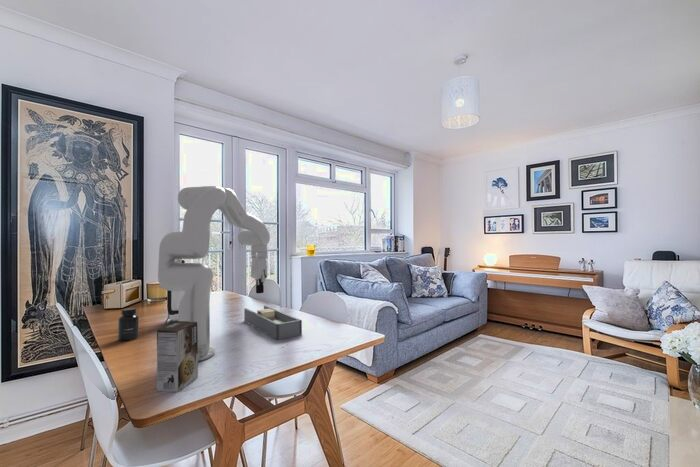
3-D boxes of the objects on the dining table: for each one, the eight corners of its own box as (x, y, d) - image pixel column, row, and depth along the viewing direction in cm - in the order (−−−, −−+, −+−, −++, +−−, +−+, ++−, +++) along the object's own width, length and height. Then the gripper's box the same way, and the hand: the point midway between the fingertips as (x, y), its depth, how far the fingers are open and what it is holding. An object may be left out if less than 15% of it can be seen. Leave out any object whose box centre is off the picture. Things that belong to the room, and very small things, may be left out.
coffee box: (177, 376, 93) (177, 320, 93) (198, 377, 92) (198, 321, 93) (155, 391, 84) (155, 329, 84) (178, 392, 83) (178, 330, 83)
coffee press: (159, 321, 157) (159, 260, 158) (194, 315, 168) (193, 258, 168) (167, 328, 144) (167, 261, 145) (204, 322, 155) (204, 259, 155)
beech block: (274, 319, 148) (274, 310, 148) (262, 321, 145) (262, 312, 145) (269, 317, 153) (269, 308, 153) (257, 319, 149) (257, 310, 149)
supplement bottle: (126, 342, 125) (126, 311, 125) (113, 340, 127) (113, 310, 127) (142, 337, 131) (142, 307, 131) (130, 335, 133) (130, 306, 134)
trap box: (301, 334, 132) (301, 320, 133) (276, 339, 126) (276, 324, 126) (265, 317, 163) (265, 305, 163) (244, 320, 156) (244, 308, 156)
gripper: (246, 254, 159) (246, 291, 160) (257, 256, 148) (258, 296, 148) (260, 254, 164) (261, 289, 164) (272, 255, 152) (273, 294, 152)
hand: (259, 292), depth 156 cm, fingers closed
